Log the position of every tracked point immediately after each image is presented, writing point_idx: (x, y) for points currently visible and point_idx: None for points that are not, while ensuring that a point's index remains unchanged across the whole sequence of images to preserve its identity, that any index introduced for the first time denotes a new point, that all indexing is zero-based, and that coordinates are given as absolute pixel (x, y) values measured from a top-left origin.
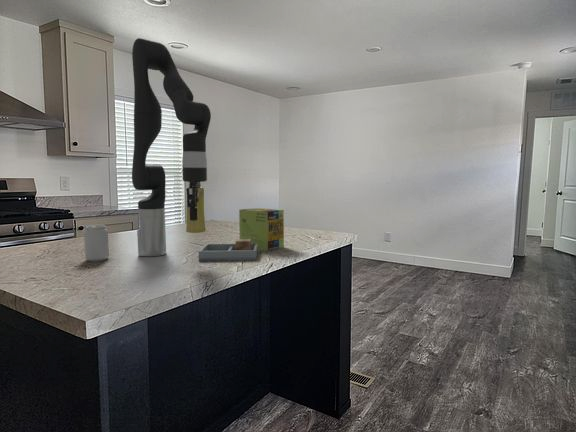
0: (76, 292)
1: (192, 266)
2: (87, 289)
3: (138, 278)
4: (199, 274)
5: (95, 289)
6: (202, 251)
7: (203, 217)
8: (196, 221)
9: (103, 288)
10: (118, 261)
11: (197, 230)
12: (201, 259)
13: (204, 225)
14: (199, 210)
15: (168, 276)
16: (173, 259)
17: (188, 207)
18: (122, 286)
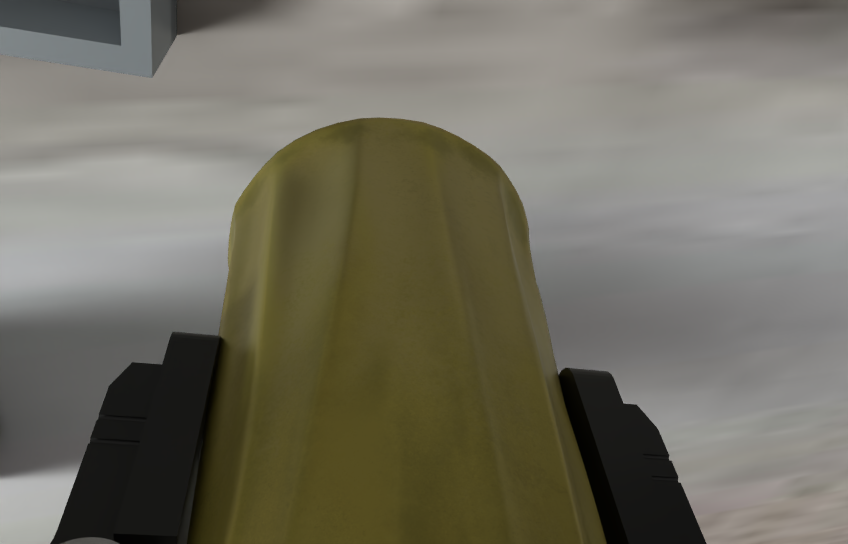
0: (807, 541)
1: (425, 88)
2: (780, 522)
3: (673, 385)
4: (766, 18)
5: (800, 499)
6: (150, 30)
7: (471, 291)
8: (552, 351)
9: (801, 478)
10: None
11: (528, 243)
12: (174, 11)
13: (389, 178)
14: (576, 482)
15: (709, 239)
16: (97, 259)
17: None
18: (814, 421)
